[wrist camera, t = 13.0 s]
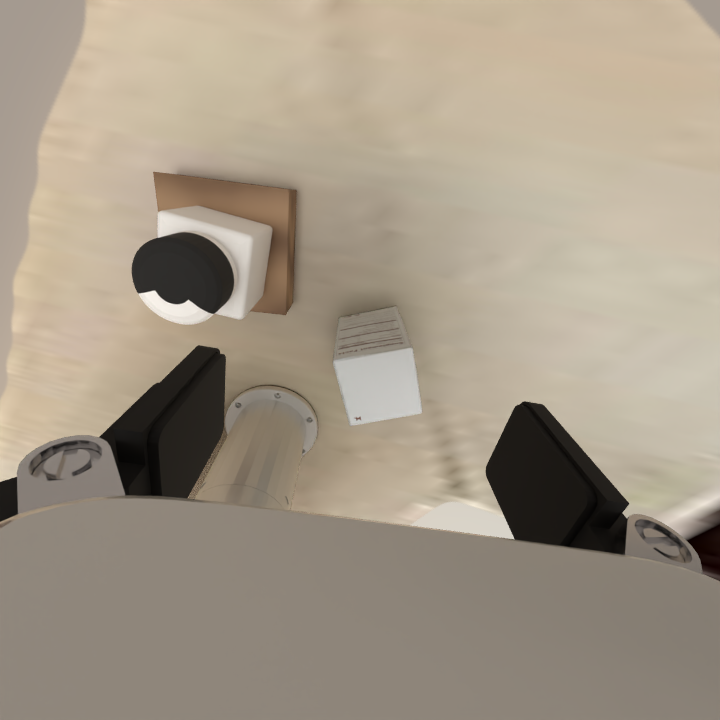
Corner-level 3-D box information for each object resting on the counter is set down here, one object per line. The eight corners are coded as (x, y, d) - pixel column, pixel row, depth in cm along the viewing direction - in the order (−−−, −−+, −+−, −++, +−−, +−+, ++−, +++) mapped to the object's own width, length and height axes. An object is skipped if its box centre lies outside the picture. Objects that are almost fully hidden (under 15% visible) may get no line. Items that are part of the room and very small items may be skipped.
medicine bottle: (196, 204, 31) (113, 215, 21) (273, 226, 32) (232, 247, 22) (192, 279, 35) (118, 321, 24) (263, 297, 35) (222, 346, 25)
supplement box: (406, 358, 44) (424, 416, 33) (349, 368, 44) (347, 429, 33) (398, 303, 41) (414, 346, 29) (337, 315, 41) (330, 361, 30)
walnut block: (293, 301, 41) (285, 314, 36) (190, 290, 40) (169, 302, 36) (297, 190, 36) (289, 189, 31) (179, 174, 35) (153, 171, 30)
